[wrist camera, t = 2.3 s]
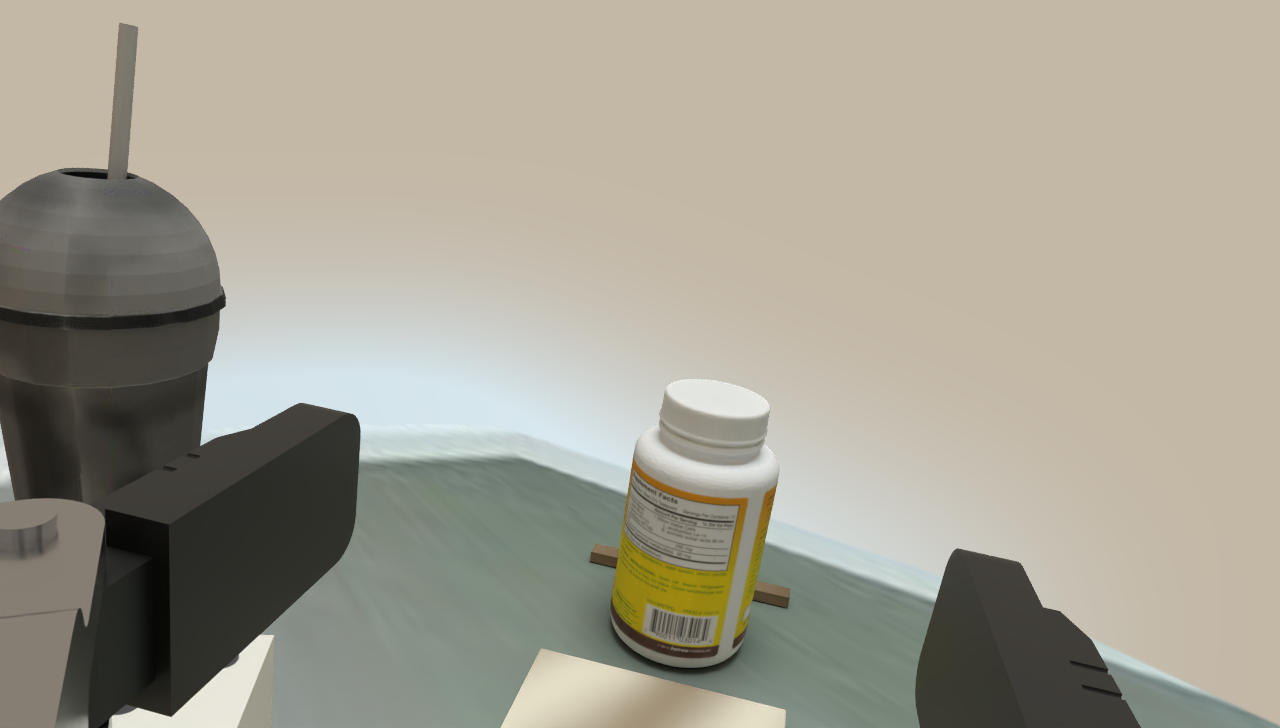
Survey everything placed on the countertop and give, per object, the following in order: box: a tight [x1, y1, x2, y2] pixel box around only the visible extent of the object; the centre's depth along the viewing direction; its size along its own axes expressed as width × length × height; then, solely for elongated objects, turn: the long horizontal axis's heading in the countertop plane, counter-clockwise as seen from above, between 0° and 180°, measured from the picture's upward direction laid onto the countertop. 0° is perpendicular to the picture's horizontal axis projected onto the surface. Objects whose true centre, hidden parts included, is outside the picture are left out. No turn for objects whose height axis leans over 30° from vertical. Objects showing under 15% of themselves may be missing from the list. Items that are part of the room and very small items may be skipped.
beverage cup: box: [0, 23, 226, 505], centre depth 28 cm, size 7×7×20 cm
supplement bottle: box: [611, 379, 779, 668], centre depth 33 cm, size 6×6×10 cm
